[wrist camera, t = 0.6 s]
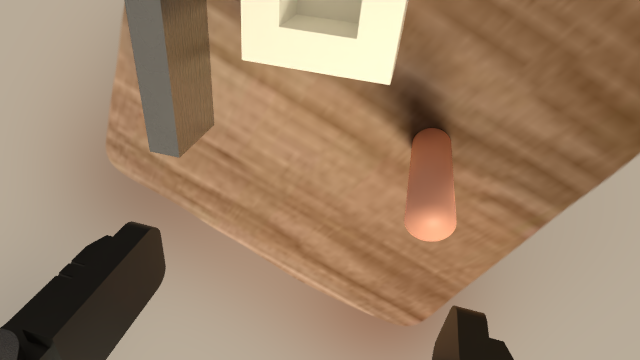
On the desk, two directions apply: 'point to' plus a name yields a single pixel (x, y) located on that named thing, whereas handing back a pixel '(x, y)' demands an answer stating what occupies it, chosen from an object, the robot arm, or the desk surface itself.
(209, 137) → the desk surface
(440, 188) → the dowel
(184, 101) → the backstop
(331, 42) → the socket block
